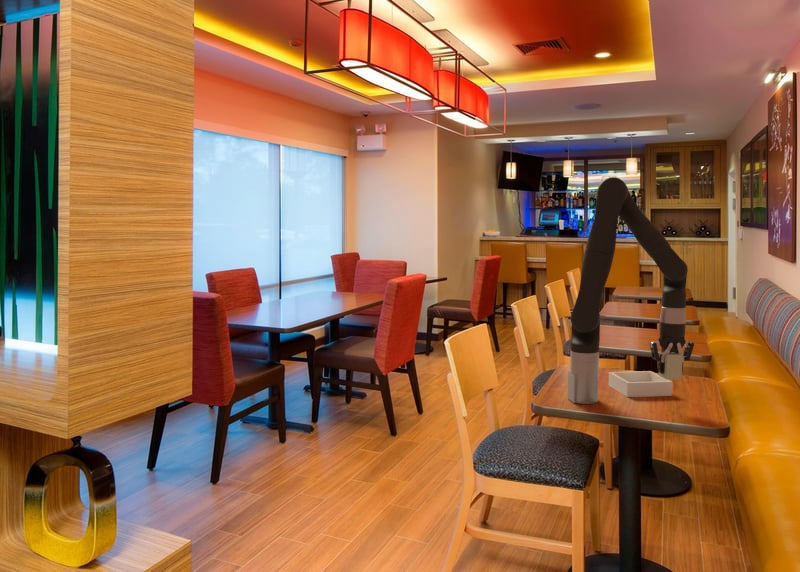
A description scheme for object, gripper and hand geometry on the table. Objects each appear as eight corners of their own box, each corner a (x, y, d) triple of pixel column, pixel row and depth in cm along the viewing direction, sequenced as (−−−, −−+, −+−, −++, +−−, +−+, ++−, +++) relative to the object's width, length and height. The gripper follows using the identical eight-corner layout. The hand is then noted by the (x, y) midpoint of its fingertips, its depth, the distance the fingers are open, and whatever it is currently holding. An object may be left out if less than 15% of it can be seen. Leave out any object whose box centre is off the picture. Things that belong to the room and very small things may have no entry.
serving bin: (627, 397, 212) (627, 382, 211) (608, 385, 228) (608, 372, 227) (672, 395, 213) (672, 381, 212) (650, 384, 229) (650, 371, 228)
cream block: (666, 379, 195) (667, 354, 194) (658, 375, 200) (659, 351, 199) (681, 379, 195) (682, 354, 194) (673, 375, 200) (674, 351, 199)
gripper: (656, 323, 191) (654, 376, 193) (701, 322, 192) (698, 376, 194) (645, 319, 199) (643, 370, 200) (688, 319, 200) (685, 370, 201)
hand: (670, 373), depth 197 cm, fingers closed on cream block, 5 cm apart
